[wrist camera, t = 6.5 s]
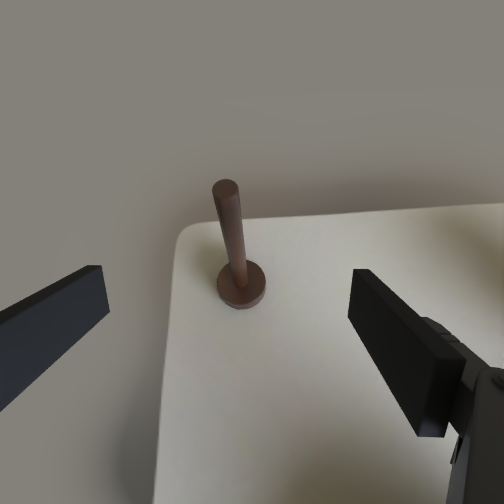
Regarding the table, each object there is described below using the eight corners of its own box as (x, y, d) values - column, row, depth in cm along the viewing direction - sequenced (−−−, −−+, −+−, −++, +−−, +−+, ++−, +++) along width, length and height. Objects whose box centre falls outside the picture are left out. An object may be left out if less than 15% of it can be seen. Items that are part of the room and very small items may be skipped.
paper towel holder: (221, 313, 26) (180, 232, 12) (217, 269, 28) (178, 161, 15) (269, 305, 26) (278, 218, 13) (261, 262, 28) (262, 151, 15)
